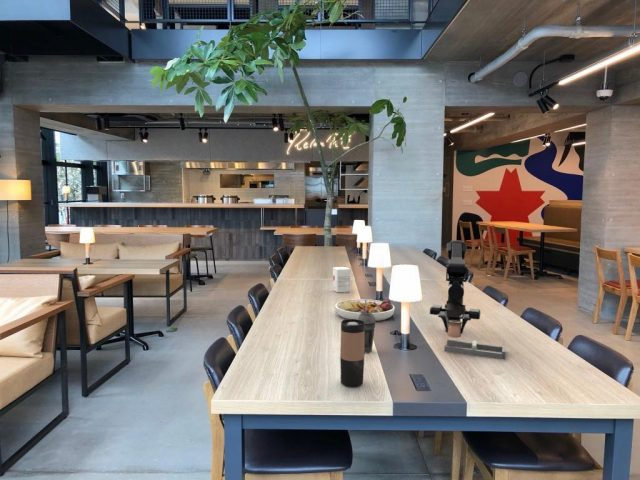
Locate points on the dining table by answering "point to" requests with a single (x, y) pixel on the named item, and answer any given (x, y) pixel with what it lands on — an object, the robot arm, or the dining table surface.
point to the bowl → (357, 306)
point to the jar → (454, 328)
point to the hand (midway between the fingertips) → (454, 333)
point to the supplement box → (341, 279)
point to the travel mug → (352, 352)
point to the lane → (474, 351)
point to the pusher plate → (474, 345)
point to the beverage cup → (368, 329)
